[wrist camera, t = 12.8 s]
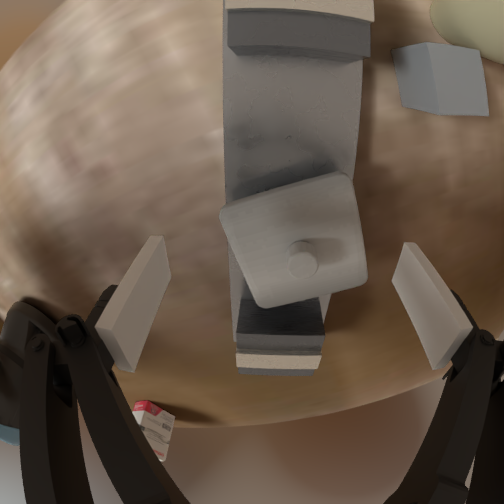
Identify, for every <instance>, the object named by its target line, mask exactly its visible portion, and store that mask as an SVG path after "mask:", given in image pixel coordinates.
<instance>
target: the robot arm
mask: <svg viewBox="0 0 504 504" xmlns="http://www.w3.org/2000/svg"><path fill="white" fill-rule="evenodd" d="M170 279H171V272H170V267H169V262H168V257H167V252H166V246H165V241H164V235H150V237H149V238H148V240H147V241H146V243H145V244H144V246H143V247H142V249H141V250H140V252H139V253H138V255H137V256H136V258H135V260H134V261H133V263H132V264H131V266H130V267H129V269H128V271H127V272H126V274H125V275H124V277H123V279H122V280H121V282H120V284H119V285H111V286H109V287H108V288H107V289H106V290H105V291H104V292H103V293H102V295H101V296H100V298H99V301H97V303H96V304H95V307H94V308H93V309H92V311H91V313H90V315H89V316H88V318H87V320H86V321H85V323H84V321H83V319H82V318H81V317H80V316H78V315H74V314H71V315H68V316H65V317H64V318H62V319H61V320H60V321H59V322H58V323H57V325H55V324H54V323H53V322H52V321H51V320H50V319H49V318H47V317H46V316H45V315H44V314H43V313H41V312H40V311H39V310H37V309H36V308H34V307H32V306H31V305H29V304H27V303H24V302H15V303H14V304H13V305H12V307H11V308H10V309H9V311H8V313H7V317H6V319H5V322H4V325H3V329H2V332H1V336H0V440H2V441H4V442H6V443H8V444H11V445H15V446H18V445H20V458H21V470H22V479H23V486H24V493H25V498H26V503H27V504H94V502H93V498H92V494H91V491H90V486H89V482H88V477H87V473H86V467H85V462H84V457H83V450H82V444H81V436H80V428H79V418H78V406H77V399H78V402H79V406H80V408H81V412H82V414H83V417H84V420H85V423H86V426H87V428H88V431H89V433H90V436H91V438H92V441H93V443H94V446H95V448H96V450H97V452H98V455H99V457H100V459H101V461H102V464H103V466H104V468H105V470H106V472H107V474H108V476H109V478H110V479H111V482H112V484H113V485H114V487H115V489H116V491H117V492H118V494H119V496H120V498H121V500H122V501H123V503H124V504H190V502H189V501H188V500H187V499H186V498H185V497H184V495H183V494H182V492H181V491H180V490H179V488H178V487H177V485H176V484H175V483H174V481H173V480H172V478H171V477H170V476H169V474H168V473H167V471H166V470H165V468H164V466H163V465H162V464H161V462H160V460H159V459H158V457H157V455H156V454H155V452H154V451H153V449H152V447H151V446H150V444H149V442H148V441H147V439H146V437H145V435H144V433H143V432H142V430H141V428H140V426H139V424H138V423H137V421H136V419H135V417H134V415H133V413H132V411H131V409H130V407H129V405H128V403H127V401H126V399H125V397H124V395H123V392H122V390H121V388H120V386H119V384H118V381H117V379H116V377H115V374H114V372H113V371H112V366H113V364H114V362H115V364H116V365H117V367H118V369H119V370H124V371H129V372H135V369H136V366H137V363H138V361H139V358H140V355H141V352H142V350H143V347H144V344H145V342H146V339H147V336H148V334H149V331H150V328H151V326H152V323H153V321H154V318H155V316H156V313H157V311H158V308H159V306H160V303H161V301H162V298H163V296H164V294H165V291H166V289H167V286H168V284H169V282H170ZM392 283H393V285H394V287H395V289H396V291H397V293H398V295H399V296H400V298H401V300H402V302H403V304H404V306H405V309H406V311H407V313H408V315H409V317H410V319H411V321H412V323H413V325H414V327H415V330H416V332H417V334H418V336H419V339H420V341H421V343H422V345H423V348H424V350H425V352H426V355H427V357H428V360H429V362H430V365H431V367H432V370H435V369H440V368H444V367H445V366H446V365H447V364H448V362H449V361H450V360H451V361H452V363H453V365H452V366H451V368H450V369H449V370H448V371H447V373H446V374H445V375H444V376H443V378H442V379H443V380H444V379H445V378H446V377H447V376H448V377H447V380H446V383H445V386H444V390H443V393H442V396H441V398H440V401H439V404H438V407H437V410H436V412H435V415H434V417H433V420H432V422H431V425H430V427H429V429H428V432H427V434H426V436H425V439H424V441H423V443H422V445H421V447H420V449H419V451H418V453H417V455H416V457H415V459H414V461H413V463H412V465H411V467H410V469H409V471H408V472H407V474H406V476H405V477H404V479H403V481H402V483H401V484H400V486H399V488H398V489H397V490H396V491H395V492H394V493H393V494H392V495H391V496H390V497H389V498H388V499H387V500H386V501H385V502H384V504H464V503H465V501H466V504H504V380H503V381H502V382H501V377H502V375H503V374H504V341H497V340H495V339H494V337H493V335H492V334H491V333H490V332H488V331H486V330H483V329H482V330H480V329H479V328H478V326H477V324H476V322H475V321H474V319H473V318H472V316H471V314H470V313H469V311H468V310H467V308H466V306H465V305H464V304H463V302H462V300H461V299H460V297H459V296H458V295H457V294H456V293H455V292H454V291H453V290H449V288H448V287H447V285H446V284H445V282H444V281H443V279H442V278H441V277H440V275H439V274H438V272H437V271H436V270H435V268H434V267H433V265H432V264H431V263H430V261H429V260H428V259H427V257H426V256H425V255H424V253H423V252H422V251H421V249H420V248H419V247H418V246H417V244H416V243H414V242H404V245H403V248H402V251H401V254H400V258H399V261H398V264H397V267H396V270H395V273H394V275H393V278H392ZM474 456H475V461H474V467H473V473H472V478H471V483H470V488H469V490H468V488H467V487H466V486H465V481H466V478H467V475H468V473H469V470H470V468H471V465H472V462H473V459H474ZM466 499H467V500H466Z"/></svg>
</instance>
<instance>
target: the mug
mask: <svg viewBox="0 0 504 504" xmlns="http://www.w3.org/2000/svg"><path fill="white" fill-rule="evenodd" d="M430 17H431V20H432V23H433V25H434V27H435V29H436V30H437V32H438V33H439V34H440V35H441V36H442V37H443V38H444V39H445V40H446V41H447V42H449V43H451V44H452V45H455V46H460V47H465V48H471V49H475V50H479V51H480V56H481V57H484V58H486V59H489V60H491V61H494V62H497V63H499V64H503V65H504V0H434V1H433V3H432V5H431V7H430Z"/></svg>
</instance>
